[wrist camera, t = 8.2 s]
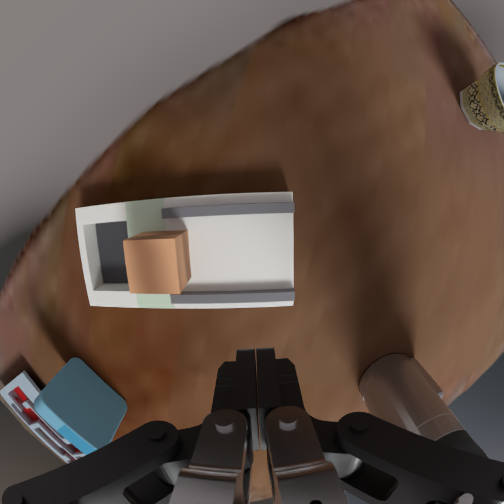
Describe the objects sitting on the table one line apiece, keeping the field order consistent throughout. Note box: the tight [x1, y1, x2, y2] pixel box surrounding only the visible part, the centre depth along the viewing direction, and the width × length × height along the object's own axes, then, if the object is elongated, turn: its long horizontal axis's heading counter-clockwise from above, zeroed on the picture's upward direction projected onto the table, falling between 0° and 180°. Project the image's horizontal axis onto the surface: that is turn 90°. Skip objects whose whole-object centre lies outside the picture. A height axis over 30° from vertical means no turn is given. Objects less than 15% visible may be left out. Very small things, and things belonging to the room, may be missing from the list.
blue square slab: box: [34, 357, 127, 455], centre depth 31 cm, size 12×4×12 cm, turn 41°
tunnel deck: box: [75, 192, 295, 308], centre depth 29 cm, size 24×12×4 cm, turn 92°
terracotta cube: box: [123, 230, 191, 294], centre depth 26 cm, size 5×5×5 cm
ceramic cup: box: [460, 62, 504, 133], centre depth 22 cm, size 13×10×10 cm
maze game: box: [0, 370, 86, 463], centre depth 40 cm, size 35×20×3 cm, turn 33°
